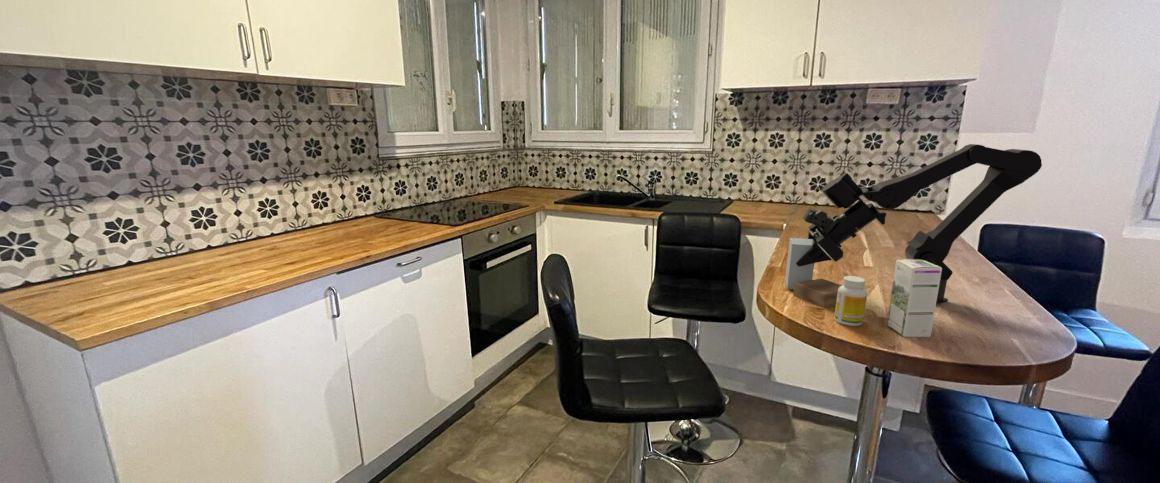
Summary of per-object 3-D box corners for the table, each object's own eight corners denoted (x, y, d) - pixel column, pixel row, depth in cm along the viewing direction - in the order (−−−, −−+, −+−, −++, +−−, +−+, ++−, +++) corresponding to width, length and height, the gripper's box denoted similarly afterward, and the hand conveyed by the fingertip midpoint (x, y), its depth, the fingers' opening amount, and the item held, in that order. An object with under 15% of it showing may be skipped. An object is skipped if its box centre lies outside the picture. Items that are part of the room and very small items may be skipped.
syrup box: (932, 337, 96) (944, 266, 93) (901, 337, 96) (913, 266, 93) (913, 325, 102) (924, 258, 98) (884, 325, 102) (895, 258, 98)
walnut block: (851, 303, 115) (853, 289, 115) (823, 308, 112) (824, 294, 111) (820, 291, 124) (822, 278, 123) (793, 296, 120) (794, 282, 119)
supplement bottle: (828, 318, 106) (833, 276, 103) (847, 315, 107) (852, 273, 105) (849, 328, 101) (855, 283, 98) (868, 324, 102) (875, 281, 100)
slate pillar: (807, 283, 128) (813, 239, 124) (810, 291, 123) (816, 245, 119) (784, 281, 129) (789, 237, 126) (787, 289, 124) (792, 244, 121)
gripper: (821, 192, 127) (772, 230, 133) (833, 203, 110) (776, 247, 116) (851, 224, 127) (800, 261, 133) (868, 240, 110) (809, 281, 116)
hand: (796, 261), depth 124 cm, fingers closed on slate pillar, 6 cm apart
